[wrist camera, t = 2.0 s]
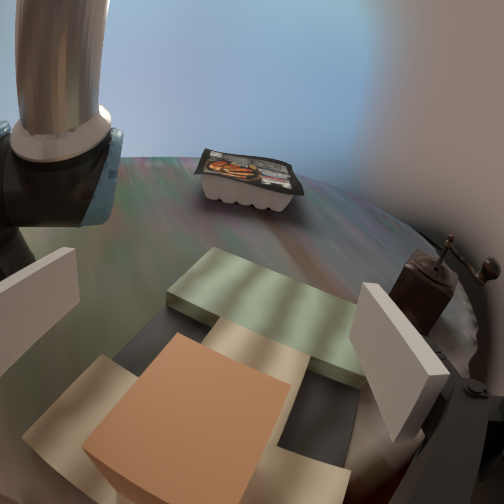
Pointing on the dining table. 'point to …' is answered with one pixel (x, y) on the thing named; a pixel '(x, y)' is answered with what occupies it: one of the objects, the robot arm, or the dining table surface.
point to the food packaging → (248, 180)
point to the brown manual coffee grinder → (433, 285)
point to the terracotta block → (188, 428)
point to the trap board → (243, 351)
